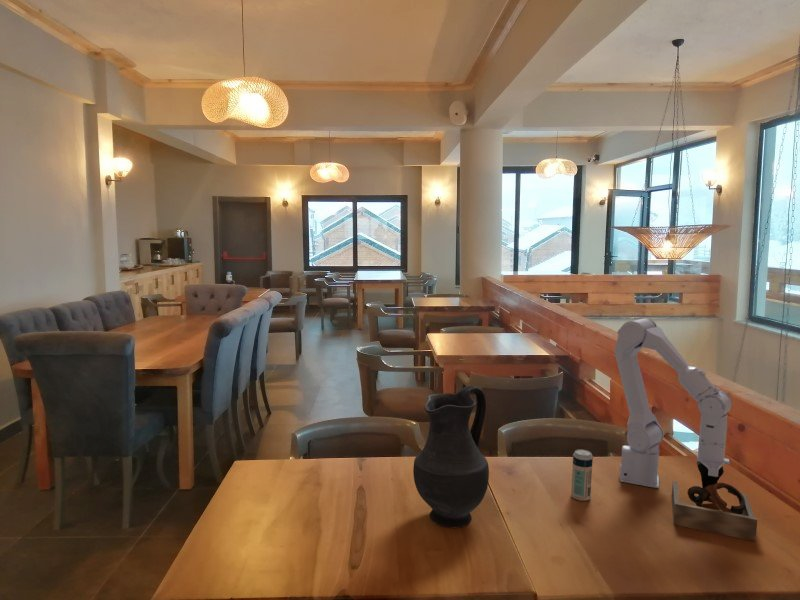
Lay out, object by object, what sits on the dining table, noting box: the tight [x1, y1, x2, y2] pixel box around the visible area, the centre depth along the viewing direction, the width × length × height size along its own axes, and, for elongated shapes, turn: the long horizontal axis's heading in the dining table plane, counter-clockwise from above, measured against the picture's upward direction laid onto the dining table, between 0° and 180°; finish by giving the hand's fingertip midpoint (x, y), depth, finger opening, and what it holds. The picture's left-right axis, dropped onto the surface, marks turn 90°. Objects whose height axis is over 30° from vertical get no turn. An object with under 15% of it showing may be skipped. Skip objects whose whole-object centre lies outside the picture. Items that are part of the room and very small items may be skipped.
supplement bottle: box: [570, 448, 594, 502], centre depth 137 cm, size 5×5×12 cm
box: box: [671, 480, 758, 542], centre depth 129 cm, size 16×16×5 cm
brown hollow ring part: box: [687, 482, 745, 515], centre depth 131 cm, size 12×10×8 cm
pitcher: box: [413, 384, 490, 528], centre depth 127 cm, size 17×21×30 cm
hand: (707, 492), depth 136 cm, fingers closed
